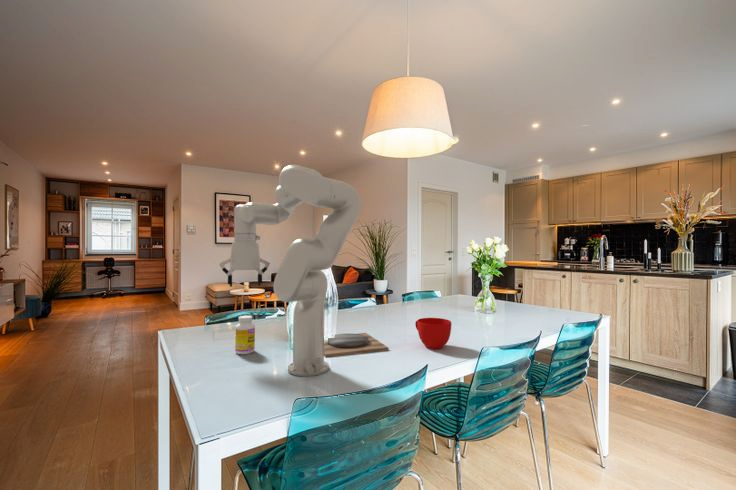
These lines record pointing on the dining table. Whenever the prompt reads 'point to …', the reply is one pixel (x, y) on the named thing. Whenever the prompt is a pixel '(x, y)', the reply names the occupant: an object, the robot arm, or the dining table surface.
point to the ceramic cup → (434, 332)
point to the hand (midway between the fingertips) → (245, 285)
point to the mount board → (350, 351)
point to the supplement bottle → (245, 336)
